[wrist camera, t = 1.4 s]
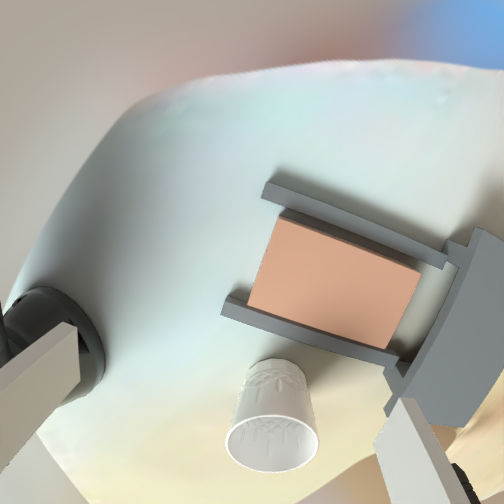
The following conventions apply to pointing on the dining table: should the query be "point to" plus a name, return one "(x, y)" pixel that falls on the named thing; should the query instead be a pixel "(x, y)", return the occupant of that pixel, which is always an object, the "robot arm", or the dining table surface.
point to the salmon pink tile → (332, 284)
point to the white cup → (273, 419)
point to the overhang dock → (442, 332)
